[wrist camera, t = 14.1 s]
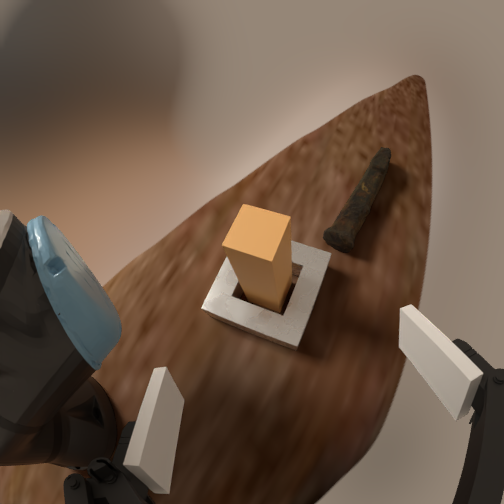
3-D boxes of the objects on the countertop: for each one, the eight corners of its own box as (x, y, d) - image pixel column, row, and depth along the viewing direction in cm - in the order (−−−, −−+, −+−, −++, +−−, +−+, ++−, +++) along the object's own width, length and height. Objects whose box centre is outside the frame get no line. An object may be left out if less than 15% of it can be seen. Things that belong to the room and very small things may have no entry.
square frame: (209, 316, 34) (201, 308, 31) (246, 239, 38) (242, 225, 35) (296, 350, 30) (297, 346, 27) (328, 266, 35) (331, 253, 31)
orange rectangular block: (248, 301, 34) (221, 245, 22) (261, 272, 35) (243, 203, 23) (279, 312, 33) (271, 261, 20) (291, 282, 34) (290, 216, 22)
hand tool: (347, 259, 35) (354, 241, 31) (320, 243, 36) (324, 224, 32) (398, 171, 40) (406, 150, 36) (377, 159, 42) (383, 138, 38)
